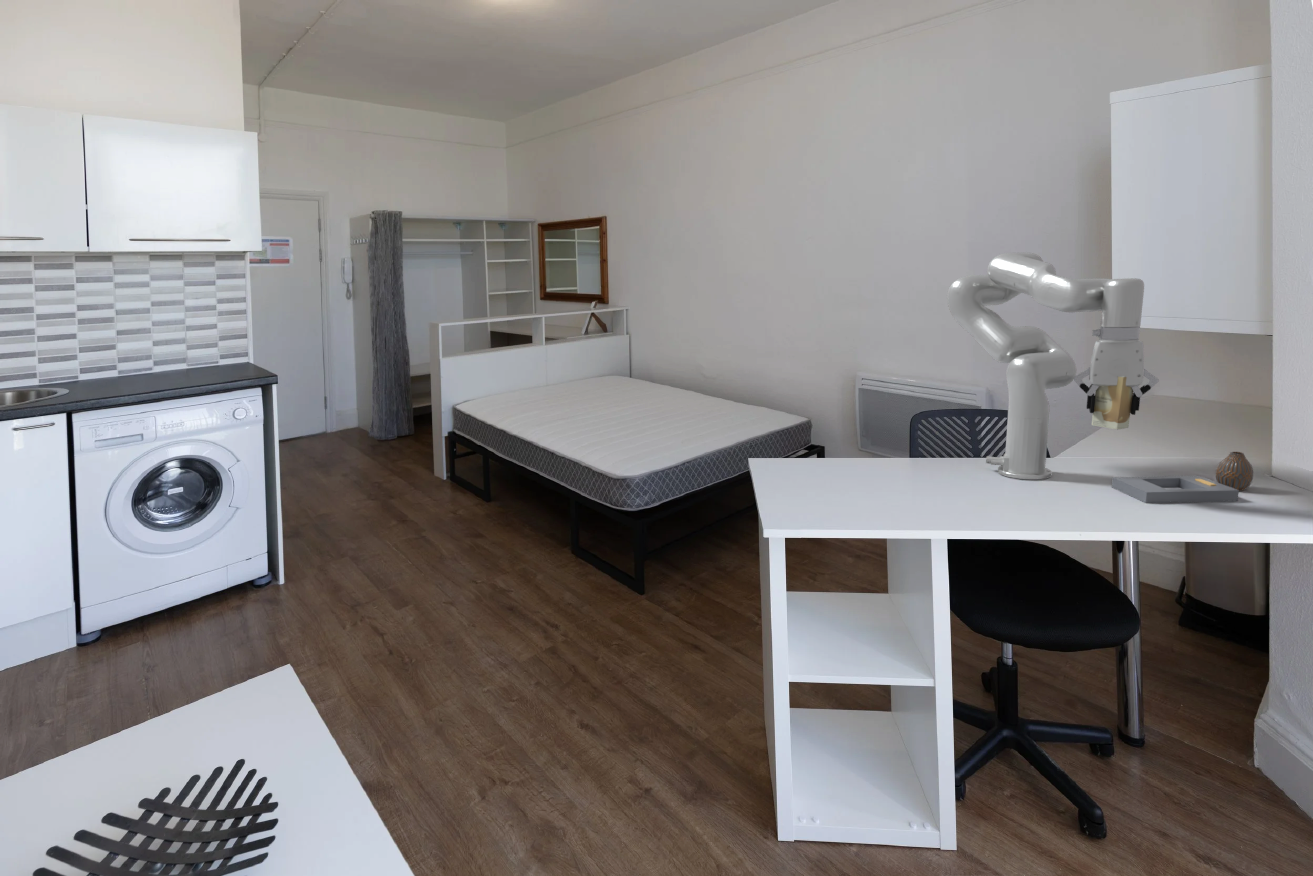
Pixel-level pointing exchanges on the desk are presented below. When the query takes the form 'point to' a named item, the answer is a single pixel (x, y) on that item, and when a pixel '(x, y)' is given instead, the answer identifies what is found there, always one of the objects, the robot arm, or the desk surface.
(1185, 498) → the socket dock
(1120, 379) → the skincare box
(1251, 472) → the vase
